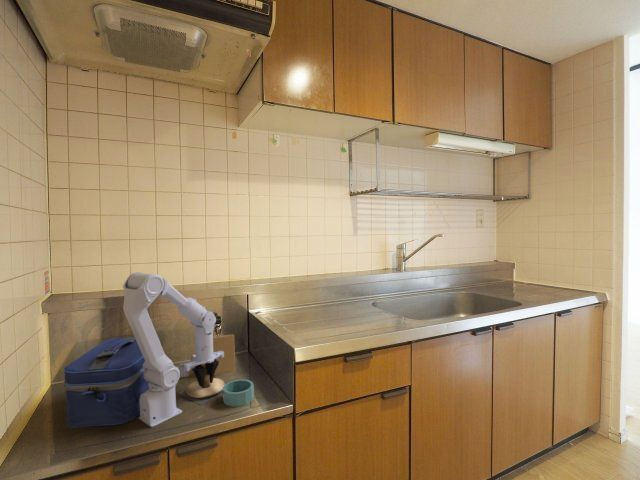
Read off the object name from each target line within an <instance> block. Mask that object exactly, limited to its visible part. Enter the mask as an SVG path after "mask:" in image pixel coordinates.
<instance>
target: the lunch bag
mask: <svg viewBox="0 0 640 480" xmlns="http://www.w3.org/2000/svg"><path fill="white" fill-rule="evenodd" d="M158 339H159V341H160V342H161V339H160V338H158ZM144 362H145V359H144V357H143V355H142V353H141V350H140V348H139V346H138V343H137V341H136V339H135V337H113V338H108V339H106V340H104V341H103V342H101V343H99V344H97V345H96V346H95V347H93V348H91V349H90V350H88V351H86V352H85V353H83V354H82V355H80V356H79V357H78V358H77V359H75V360H73V361H72V362H70V363H69V364H67V365H66V366H65V367H64V369H63V371H64V381H63V387H64V388H65V394H66V397H65V403H66V412H65V413H66V414H65V415H66V419H65V421H66V426H67V427H68V428H72V429H74V428H86V427H98V426H99V427H100V426H114V425H115V426H117V425H122V424H125V423H128V421H129V422H131V421H133V420H134V419H136V418H137V417H138V416H140V395H141V394H143V393H144V392H146V391H147V390H148V389H149V386H148V382H147V381H145V379H144V376H143V374H144V369H143V366H142V365H143V363H144Z"/></svg>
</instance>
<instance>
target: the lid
mask: <svg viewBox="0 0 640 480" xmlns="http://www.w3.org/2000/svg"><path fill="white" fill-rule="evenodd" d="M225 384H226V383H225V381H224V380H223V379H221V378H217V377H215V378H214V377H213V382H212V383H210V374H209V373H207V372H205V375H204V386H203V387H201V386H199V384H198V380H196V381H193V382H191V383H190V384H189V385H188V386H187V387H186V389H187V394H188V395H189V396H191V397H195V398H203V397H209V396H212V395H215V394H217V393H219V392H221V391H222V390H223V387H224V385H225Z"/></svg>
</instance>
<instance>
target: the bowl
mask: <svg viewBox="0 0 640 480" xmlns="http://www.w3.org/2000/svg"><path fill="white" fill-rule="evenodd" d="M254 386H255V384H254V383H253V381H252V380H249V379H243V378H240V379H239V378H238V379H235V380H231V381H229V382H226V383H225V385H224V387H223V394H222V401H223V404H224V405H226V406H228V407H242V406H245V405H248V404H249V403H251V402H252V401H253V399H254V398H255V387H254Z"/></svg>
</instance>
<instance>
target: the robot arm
mask: <svg viewBox="0 0 640 480" xmlns="http://www.w3.org/2000/svg"><path fill="white" fill-rule="evenodd" d="M122 287H123V291H124V296H123V305H122V306H123V308H122V309H123V313H124V315H125V317H126V320H127V323H128V325H129V326H130V329H131V331H132V334H133V336H134V338H135V339H136V341H137V343H138V346H139V348H140V350H141V353H142V355H143V357H144V359H145V362H144V363H143V365H142V366H143V369H144V374H143V376H144V379H145V381H147V382H148V386H149V389H148V390H147V391H146V392H144V393H143V394H141V395H140V414H139V417H138V419H139V420H141V421H142V422H143V423H145V424H146V425H148V426H149V427H151V428H154V427H156V426H157V425H160V424H161V423H163V422H165V421H167V420H170V419H171V418H174V417H176V416H177V415H179V414H182V413H183V410H181V409H180V408H178V407H177V397H176V396H177V395H176V386H177V384H178V382H179V380H180V378H179V377H180V371H179V369H178V368H177V366H175V364H174V363H173V361H172V360H171V359H170V358H169V357H168V355H166V354H165V351H164V348H163V346H162V344H161V340H160V341H159V339H160V338H159V336H158V334H157V331H156V329H155V326H154V325H153V321H152V319H151V317H150V315H149V312H148V308H149V306H150V305H151V304H152V303H153V302H154V301H155V300H156V299H157V297H159V296H162V297H163V298H164V299H166V300H168V301H169V302H171V303H172V304H173V305H175V306H176V307H177V311H178V313H179V314H181V315H182V316H184V317H185V318H186V319H188V320H189V321H190V324H191V325H192V326H194V336H195V337H194V339H195V341H194V343H195V355H196V358H195V359H193V360H191V361H190V360H189V361H190V362H189V361H187V362H185V364H184V370H185V371H189V372H190V371H191V370H192V372H193V373H194V375H195V377H196V381H198V384H199V386H201V387H203V386H204V375H205V373H209V374H210V383H212V382H213V378H214V376H215V375H214V374H215V371H216V368H217V366H218V365H219V361H217V360H216V359H218V358H220V357H221V358H223V357H224V352H223V351H218V352H214V353H213V338H214V330H215V329H214V328H215V324H216V322H217V317H216V316H215V314H214V312H213V311H210V310H207V309H206V307H205V306H204V305H201V304H200V303H198V300H197V299H196V298H195V297H191V296H190V297H185V296H184V295H183V294H181V293H180V292H179V290H177V289H176V288H175V287H173V285H172V284H170V282H168V280H167V279H165V278H164V277H162V276H161V275H160V274H157V273H143V272H137V271H135V272H132V273H131V274H129V275H128V276H127V278H126V280H125V281H124V283H123V285H122ZM203 365H205V367H204V366H203Z"/></svg>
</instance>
